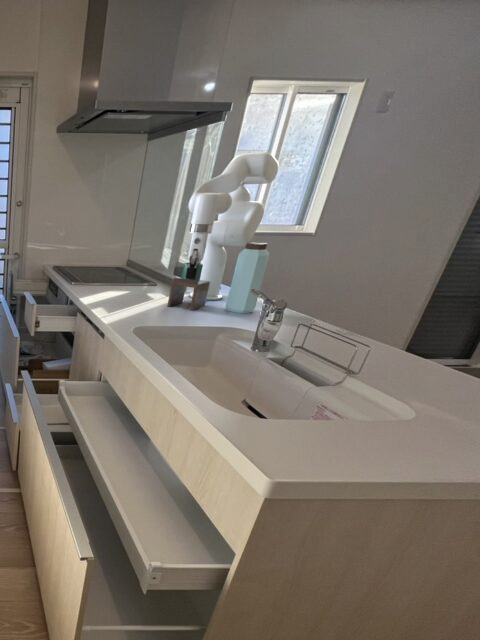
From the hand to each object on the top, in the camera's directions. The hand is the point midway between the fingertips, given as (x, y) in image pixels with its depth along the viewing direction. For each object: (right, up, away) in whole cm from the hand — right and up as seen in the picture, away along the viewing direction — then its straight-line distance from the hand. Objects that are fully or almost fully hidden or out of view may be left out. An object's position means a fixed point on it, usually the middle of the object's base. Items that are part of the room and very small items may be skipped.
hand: (191, 276), depth 162 cm
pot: (0, -1, +1) cm, 2 cm away
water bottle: (+18, -14, -2) cm, 23 cm away
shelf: (+1, -11, +5) cm, 12 cm away
